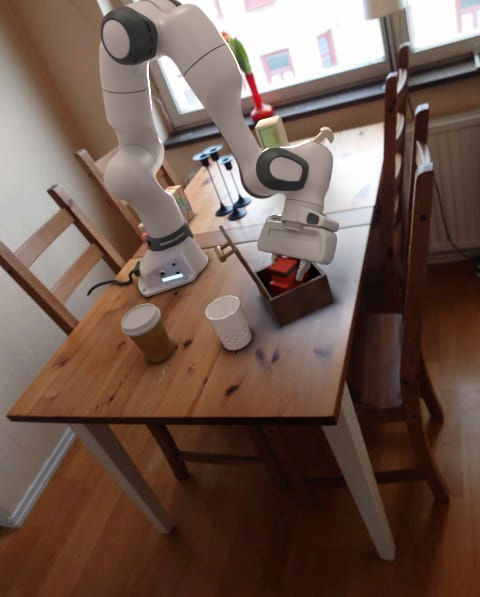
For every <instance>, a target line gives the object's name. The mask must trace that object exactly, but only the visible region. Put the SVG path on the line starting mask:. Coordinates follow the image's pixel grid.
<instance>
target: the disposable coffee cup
mask: <svg viewBox="0 0 480 597" xmlns="http://www.w3.org/2000/svg"><path fill="white" fill-rule="evenodd" d="M120 325H121V332H122V333H123V334H125V335H126V336H128V337H129V338H130V340H131V341H132V342H133V343H134V345H136V346H137V348H139V350H140V351H141V352H142V353H143V354H144V355H145V357H146V358H147V359H148V360H149V361H150V362H152V363H159V362H162V361H165V360H167V359H168V358H169V356H171V355H172V353H173V350H174V347H173V344H172V342H171V338H170V336H169V334H168V332H167V329H166V326H165V323H164V321H163V319H162V315H161V310H160V308H159V307H157V306H156V305H154V304H153V303H147V302H146V303H142V304H138V305H136V306H134V307H133V308H130V310H128V311H127V312H126V313H125V314H124V316H123V317H122V319H121V321H120Z"/></svg>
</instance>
